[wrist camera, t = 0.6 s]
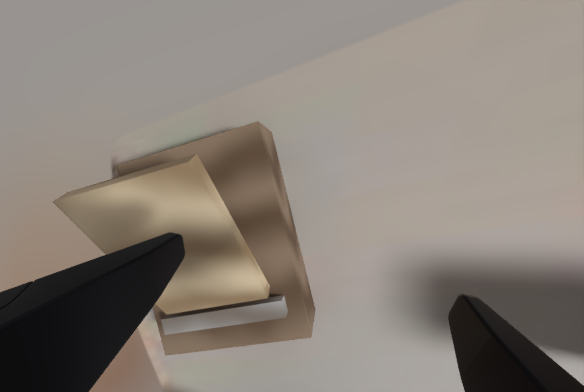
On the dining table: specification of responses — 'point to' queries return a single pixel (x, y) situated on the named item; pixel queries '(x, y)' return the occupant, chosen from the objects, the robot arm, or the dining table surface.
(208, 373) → the dining table surface
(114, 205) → the oak plank
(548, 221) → the dining table surface
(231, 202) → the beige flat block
